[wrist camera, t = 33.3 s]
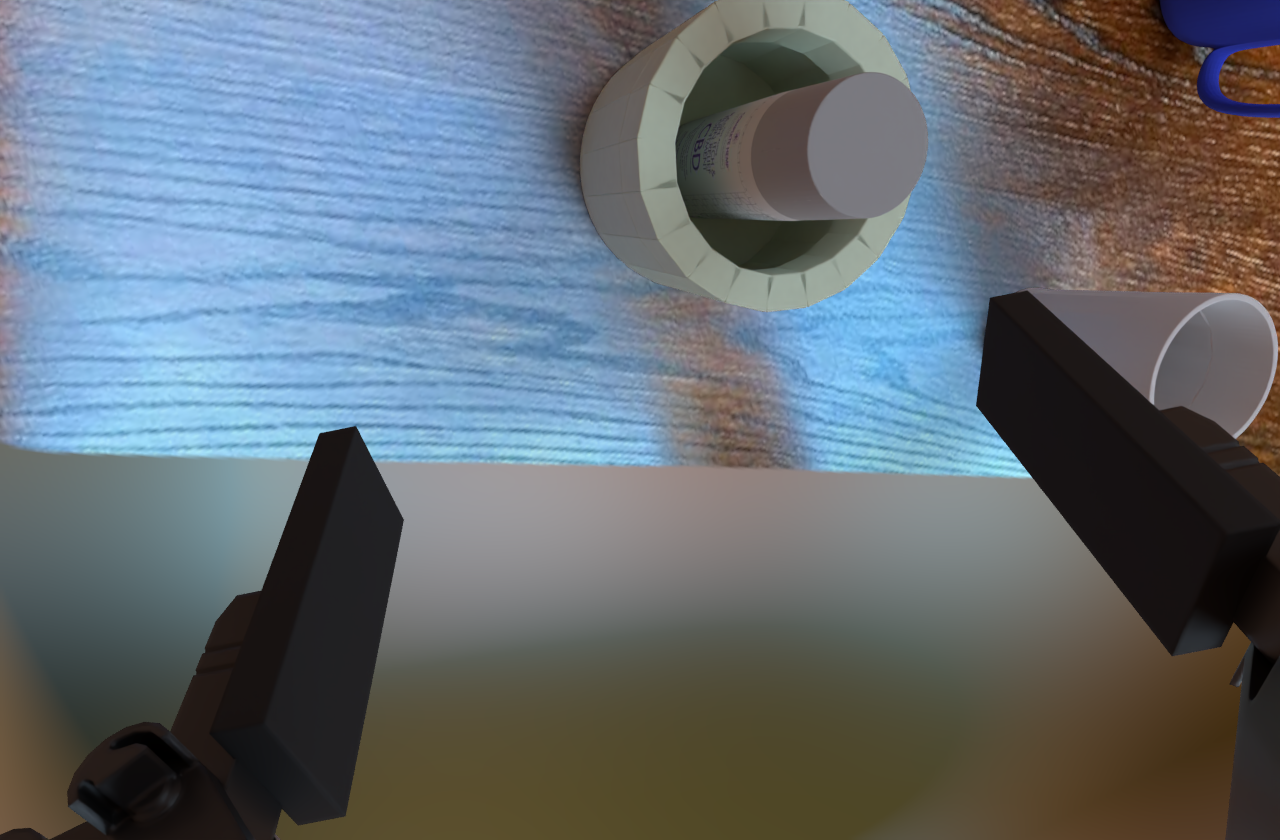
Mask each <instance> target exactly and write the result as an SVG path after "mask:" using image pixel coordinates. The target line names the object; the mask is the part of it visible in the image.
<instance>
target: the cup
mask: <svg viewBox="0 0 1280 840" xmlns="http://www.w3.org/2000/svg"><path fill="white" fill-rule="evenodd" d="M1026 290H1028V291H1029V292H1030V293H1031V294H1032V295H1033V296H1034V297H1036V298H1037V299H1038V300H1039V301H1040V302H1041V303H1042V304H1043V305H1044V306H1045V307H1046V308H1048V309H1049V310H1050V311H1051V312H1052V313H1053V314H1054V315H1055V316H1056V317H1057V318H1059V319H1060V320H1061V321H1062V322H1063V323H1064V324H1065V325H1066V326H1067V327H1068V328H1070V329H1071V330H1072V331H1073V332H1074V333H1075V334H1076V335H1077V336H1078V337H1079V338H1081V339H1082V340H1083V341H1084V342H1085V343H1086V344H1087V345H1088V346H1089V347H1090V348H1091V349H1093V350H1094V351H1095V352H1096V353H1097V354H1098V355H1099V356H1100V357H1101V358H1102V359H1104V360H1105V361H1106V362H1107V363H1108V364H1109V365H1110V366H1111V367H1112V368H1113V369H1115V370H1116V371H1117V372H1118V373H1119V374H1120V375H1121V376H1122V377H1123V378H1124V379H1126V380H1127V381H1128V382H1129V383H1130V384H1131V385H1132V386H1133V387H1134V388H1135V389H1137V390H1138V391H1139V392H1140V393H1141V394H1142V395H1143V396H1144V397H1145V398H1146V399H1147V400H1149V401H1150V402H1151V403H1152V404H1153V405H1154V406H1155V407H1156V408H1157V409H1158V410H1163V409H1168V408H1173V407H1178V406H1183V407H1185V408H1188V409H1190V410H1192V411H1194V412H1196V413H1198V414H1200V415H1202V416H1204V417H1207V418H1209V419H1211V420H1213V421H1215V422H1216V423H1217V424H1218V425H1220V426H1221V427H1222V428H1223V429H1224V430H1225V431H1227V432H1228V433H1229V434H1230V435H1231V436H1233V437H1234V438H1235V439H1236V438H1237V437H1238V436H1239V435H1240V434H1241V433H1242V432H1243V431H1244V430H1245V429H1246V428H1247V427H1248V426H1249V425H1250V423H1251V422H1252V421H1253V419H1254V418H1255V417H1256V415H1257V414H1258V412H1259V411H1260V409H1261V407H1262V406H1263V404H1264V402H1265V400H1266V398H1267V395H1268V393H1269V391H1270V388H1271V385H1272V382H1273V379H1274V375H1275V371H1276V365H1277V357H1278V342H1277V335H1276V330H1275V326H1274V323H1273V321H1272V319H1271V317H1270V315H1269V313H1268V312H1267V310H1266V309H1265V308H1264V307H1263V305H1262V304H1260V303H1259V302H1258V301H1257V300H1255V299H1254V298H1252V297H1250V296H1247V295H1244V294H1239V293H1172V292H1169V293H1168V292H1128V291H1088V290H1053V289H1044V288H1026V289H1023V290H1020V291H1018V292H1021V291H1026Z"/></svg>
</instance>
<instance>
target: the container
mask: <svg viewBox="0 0 1280 840" xmlns="http://www.w3.org/2000/svg"><path fill="white" fill-rule="evenodd" d="M675 150H676V170H677V184H678V186H679V189H680V192H681V195H682V198H683V201H684V204H685V207H686V209H687V212H688V215H689V217H693V218H703V219H739V220H775V221H801V220H834V219H866V218H873V217H878V216H880V215H883V214H885V213H887V212H889V211H891V210H893V209H894V208H896V207H897V206H898V205H899V204H901V203H902V202H903V201H904V200H905V199H906V198H907V197H908V195H909V194H910V193H911V192H912V190H913V189H914V187H915V186H916V184H917V182H918V180H919V178H920V176H921V174H922V171H923V168H924V165H925V161H926V156H927V150H928V131H927V124H926V120H925V116H924V113H923V110H922V108H921V106H920V104H919V102H918V100H917V99H916V97H915V95H914V94H913V93H912V92H911V91H910V89H909V88H908V87H907V86H905V85H904V84H903V83H902V82H900V81H899V80H897V79H896V78H894V77H892V76H889V75H887V74H883V73H878V72H865V73H859V74H855V75H851V76H847V77H843V78H839V79H835V80H831V81H827V82H823V83H819V84H815V85H811V86H807V87H803V88H799V89H795V90H791V91H786V92H782V93H779V94H776V95H773V96H770V97H766V98H763V99H760V100H757V101H754V102H750V103H747V104H744V105H741V106H738V107H735V108H731V109H728V110H725V111H722V112H719V113H716V114H712V115H709V116H706V117H703V118H700V119H696V120H693V121H690V122H688V123H685V124H683V125H681V126H679V128H678V132H677V136H676V140H675Z"/></svg>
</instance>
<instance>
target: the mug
mask: <svg viewBox="0 0 1280 840" xmlns="http://www.w3.org/2000/svg"><path fill="white" fill-rule="evenodd" d="M1160 5H1161V11H1162V15H1163V18H1164V21H1165V23H1166V25H1167V27H1168V28H1169V30H1170V31H1171V32H1172V33H1173V35H1174V36H1175V37H1177V38H1178V39H1179V40H1181V41H1183V42H1185V43H1187V44H1190V45H1194V46H1199V47H1210V48H1214V50H1213V51H1212V52H1211V53H1210V54H1209V55H1208V56H1207V58H1206V59H1205V60H1204V62H1203V64H1202V67H1201V69H1200V72H1199V75H1198V80H1197V91H1198V94H1199V97H1200V99H1201V100H1202V102H1203V103H1204V104H1205V105H1206V106H1208V107H1209V108H1211V109H1213V110H1216V111H1218V112H1222V113H1227V114H1232V115H1239V116H1249V117H1280V104H1248V103H1240V102H1236V101H1232V100H1230V99H1228V98H1226V97H1225V96H1224V95H1223V94H1222V93H1221V91H1220V88H1219V83H1218V80H1219V73H1220V70H1221V67H1222V65H1223V63H1224V61H1225V60H1226V58H1227V57H1228V56H1229V55H1231V54H1232V53H1234V52H1237V51H1241V50H1245V49H1251V48H1258V47H1265V46H1272V45H1280V0H1160Z"/></svg>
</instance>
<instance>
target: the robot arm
mask: <svg viewBox="0 0 1280 840" xmlns="http://www.w3.org/2000/svg"><path fill="white" fill-rule="evenodd" d="M976 406H977V407H978V409H979V410H980V411H981V412H982V414H983V415H984V416H985V418H986V419H987V420H988V421H989V423H990V424H991V425H992V426H993V428H994V429H995V430H996V432H997V433H998V434H999V435H1000V437H1001V438H1002V439H1003V441H1004V442H1005V443H1006V444H1007V446H1008V447H1009V448H1010V450H1011V451H1012V452H1013V453H1014V455H1015V456H1016V457H1017V459H1018V460H1019V461H1020V462H1021V464H1022V465H1023V466H1024V467H1025V469H1026V470H1027V471H1028V473H1029V474H1030V475H1031V476H1032V478H1033V479H1034V480H1035V481H1036V483H1037V484H1038V485H1039V487H1040V488H1041V489H1042V491H1043V492H1044V493H1045V494H1046V496H1047V497H1048V498H1049V499H1050V501H1051V502H1052V503H1053V505H1054V506H1055V507H1056V508H1057V510H1058V511H1059V512H1060V514H1061V515H1062V516H1063V517H1064V519H1065V520H1066V521H1067V523H1068V524H1069V525H1070V526H1071V528H1072V529H1073V530H1074V531H1075V533H1076V534H1077V535H1078V536H1079V538H1080V539H1081V540H1082V542H1083V543H1084V544H1085V546H1086V547H1087V548H1088V549H1089V551H1090V552H1091V553H1092V554H1093V556H1094V557H1095V558H1096V560H1097V561H1098V562H1099V563H1100V565H1101V566H1102V567H1103V569H1104V570H1105V571H1106V572H1107V574H1108V575H1109V576H1110V578H1111V579H1112V580H1113V581H1114V583H1115V584H1116V585H1117V586H1118V588H1119V589H1120V590H1121V592H1122V593H1123V594H1124V595H1125V597H1126V598H1127V599H1128V601H1129V602H1130V603H1131V604H1132V605H1133V607H1134V608H1135V610H1136V611H1137V612H1138V613H1139V615H1140V616H1141V617H1142V619H1143V620H1144V621H1145V622H1146V624H1147V625H1148V626H1149V627H1150V629H1151V630H1152V631H1153V633H1154V634H1155V635H1156V636H1157V638H1158V639H1159V640H1160V642H1161V643H1162V644H1163V645H1164V647H1165V648H1166V649H1167V650H1168V652H1169V653H1170V654H1171V656H1175V655H1181V654H1186V653H1191V652H1197V651H1201V650H1207V649H1212V648H1217V647H1221V646H1222V644H1223V642H1224V640H1225V638H1226V636H1227V634H1228V632H1229V630H1230V628H1231V626H1232V624H1233V622H1234V623H1235V624H1236V625H1237V626H1238V627H1239V629H1240V630H1241V631H1242V632H1243V633H1244V634H1245V635H1246V636H1247V637H1248V639H1249V640H1250V641H1251V644H1250V645H1249V647H1248V649H1247V651H1246V653H1245V655H1244V657H1243V659H1242V660H1241V662H1240V664H1239V666H1238V668H1237V670H1236V672H1235V674H1234V676H1233V678H1232V680H1231V682H1230V685H1233V686H1236V687H1239V685H1240V683H1241V681H1242V687H1241V697H1240V706H1239V716H1238V725H1237V735H1236V744H1235V754H1234V763H1233V773H1232V782H1231V793H1230V801H1229V811H1228V820H1227V830H1226V840H1280V477H1279V476H1278V475H1277V474H1276V473H1275V472H1274V471H1272V470H1271V469H1270V468H1269V467H1268V466H1267V465H1265V464H1264V463H1259V462H1258V458H1257V457H1256V456H1255V455H1254V454H1252V453H1251V452H1250V451H1249V450H1248V449H1247V448H1245V447H1244V446H1239V442H1238V441H1237V440H1236V439H1235V438H1234V437H1233V436H1231V435H1230V434H1229V433H1228V432H1227V431H1225V430H1224V429H1223V428H1222V427H1221V426H1220V425H1218V424H1217V423H1216V422H1215V421H1213V420H1211V419H1209V418H1207V417H1204V416H1202V415H1200V414H1198V413H1196V412H1194V411H1192V410H1190V409H1188V408H1185V407H1183V406H1178V407H1173V408H1168V409H1163V410H1158V409H1157V408H1156V407H1155V406H1154V405H1153V404H1152V403H1151V402H1150V401H1149V400H1147V399H1146V398H1145V397H1144V396H1143V395H1142V394H1141V393H1140V392H1139V391H1138V390H1137V389H1135V388H1134V387H1133V386H1132V385H1131V384H1130V383H1129V382H1128V381H1127V380H1126V379H1124V378H1123V377H1122V376H1121V375H1120V374H1119V373H1118V372H1117V371H1116V370H1115V369H1113V368H1112V367H1111V366H1110V365H1109V364H1108V363H1107V362H1106V361H1105V360H1104V359H1102V358H1101V357H1100V356H1099V355H1098V354H1097V353H1096V352H1095V351H1094V350H1093V349H1091V348H1090V347H1089V346H1088V345H1087V344H1086V343H1085V342H1084V341H1083V340H1082V339H1081V338H1079V337H1078V336H1077V335H1076V334H1075V333H1074V332H1073V331H1072V330H1071V329H1070V328H1068V327H1067V326H1066V325H1065V324H1064V323H1063V322H1062V321H1061V320H1060V319H1059V318H1057V317H1056V316H1055V315H1054V314H1053V313H1052V312H1051V311H1050V310H1049V309H1048V308H1046V307H1045V306H1044V305H1043V304H1042V303H1041V302H1040V301H1039V300H1038V299H1037V298H1036V297H1034V296H1033V295H1032V294H1031V293H1030V292H1029V291H1028V290H1026V291H1021V292H1016V293H1011V294H1006V295H1002V296H997V297H992V298H990V302H989V309H988V317H987V325H986V333H985V340H984V348H983V356H982V364H981V371H980V379H979V387H978V395H977V402H976ZM403 521H404V519H403V517H402V515H401V514H400V512H399V510H398V508H397V506H396V504H395V502H394V500H393V498H392V496H391V494H390V492H389V490H388V488H387V486H386V484H385V482H384V480H383V478H382V476H381V474H380V472H379V470H378V468H377V467H376V464H375V463H374V461H373V459H372V457H371V455H370V453H369V451H368V449H367V447H366V445H365V443H364V441H363V439H362V437H361V435H360V433H359V431H358V429H357V427H356V426H354V427H349V428H344V429H339V430H334V431H329V432H324V433H319V436H318V439H317V442H316V444H315V447H314V450H313V452H312V455H311V458H310V461H309V463H308V466H307V469H306V471H305V474H304V477H303V480H302V483H301V485H300V488H299V491H298V493H297V496H296V499H295V501H294V504H293V507H292V510H291V512H290V515H289V518H288V521H287V523H286V526H285V528H284V531H283V534H282V537H281V539H280V542H279V545H278V548H277V550H276V553H275V556H274V558H273V561H272V564H271V566H270V570H269V572H268V574H267V577H266V580H265V583H264V585H263V589H262V591H257V592H252V593H247V594H243V595H237V596H236V597H235V599H234V600H233V601H232V602H231V603H230V605H229V606H228V607H227V608H226V610H225V611H224V612H223V613H222V614H221V616H220V617H219V618H218V619H217V621H216V622H215V625H214V627H213V629H212V632H211V634H210V637H209V639H208V642H207V644H206V646H205V653H203V654H202V656H201V658H200V661H199V663H198V666H197V668H196V672H197V673H196V675H194V676H193V678H192V680H191V683H190V685H189V688H188V690H187V692H186V695H185V697H184V700H183V702H182V705H181V707H180V709H179V712H178V714H177V717H176V719H175V721H174V724H173V726H172V729H171V731H168V730H167V729H166V728H165V727H164V726H162V725H161V724H160V723H150V722H143V723H139V724H136V725H132V726H129V727H126V728H124V729H122V730H120V731H119V732H117V733H115V734H113V735H112V736H110V737H108V738H107V739H105V740H104V741H103V742H102V743H101V744H100V745H99V746H98V747H96V748H95V749H94V750H93V751H92V752H91V753H90V754H89V755H88V756H87V757H86V759H85V760H84V761H83V763H82V764H81V765H80V767H79V768H78V769H77V771H76V772H75V773H74V776H73V778H72V781H71V783H70V786H69V789H68V791H67V794H68V807H69V808H71V809H72V810H73V811H74V812H76V813H77V814H78V815H80V816H81V817H82V818H84V819H85V820H87V822H85V823H83V824H80V825H78V826H76V827H74V828H72V829H71V830H68V831H66V832H64V833H62V834H61V835H58V836H56V837H54V838H52V839H50V840H280V839H279V838H278V837H277V836H276V835H275V832H276V828H277V824H278V820H279V817H280V813H281V809H283V810H284V811H285V812H286V813H287V814H288V815H289V817H291V819H293V821H294V822H295V823H296V824H297V825H303V824H308V823H313V822H318V821H323V820H329V819H334V818H339V817H344V816H345V815H346V810H347V806H348V800H349V795H350V790H351V785H352V780H353V775H354V770H355V764H356V760H357V755H358V750H359V744H360V740H361V734H362V729H363V724H364V719H365V714H366V709H367V704H368V699H369V694H370V688H371V684H372V678H373V674H374V669H375V663H376V658H377V653H378V648H379V643H380V638H381V633H382V627H383V623H384V618H385V612H386V608H387V603H388V597H389V592H390V587H391V582H392V577H393V572H394V567H395V562H396V557H397V552H398V547H399V542H400V537H401V532H402V526H403ZM0 840H48V839H47V838H45V837H44V836H43V835H41V834H40V833H38V832H36V831H35V830H33V829H31V828H23V829H13V830H11V831H8V832H6V833H3V834H1V835H0Z"/></svg>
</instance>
